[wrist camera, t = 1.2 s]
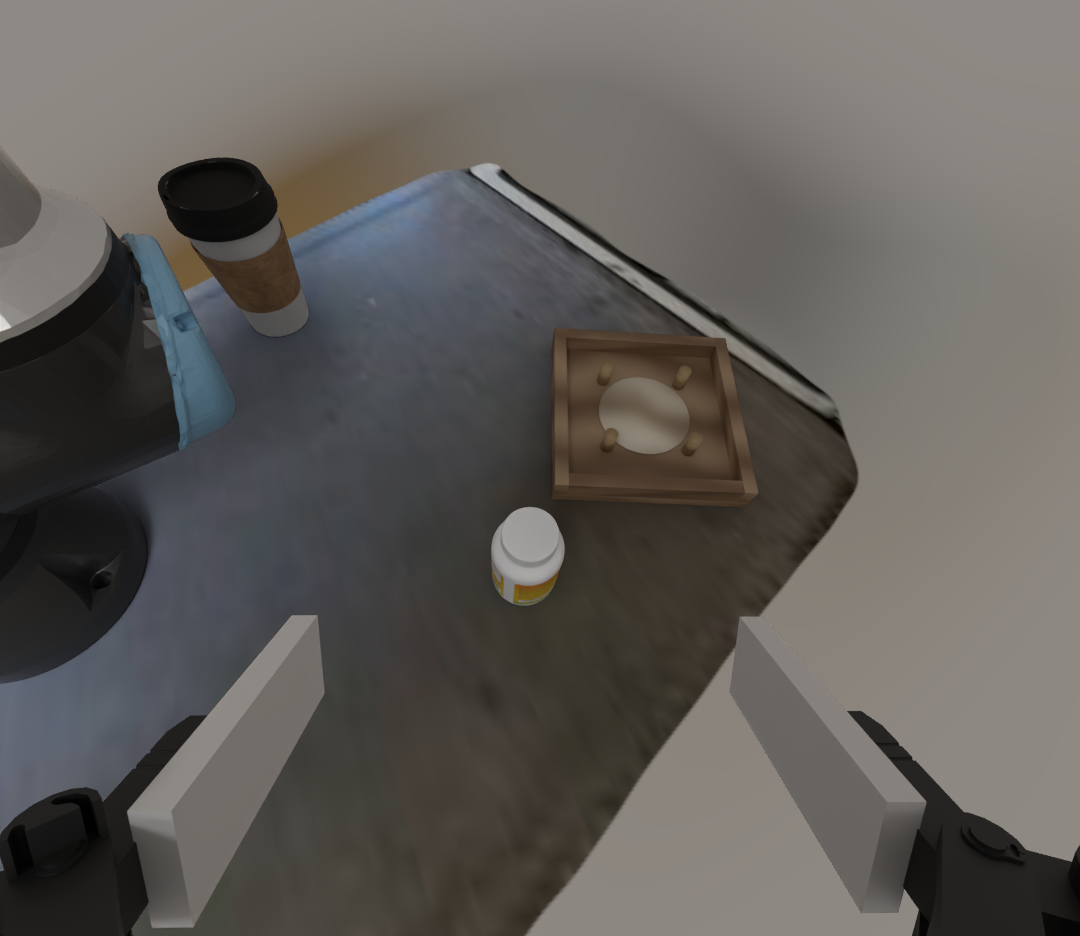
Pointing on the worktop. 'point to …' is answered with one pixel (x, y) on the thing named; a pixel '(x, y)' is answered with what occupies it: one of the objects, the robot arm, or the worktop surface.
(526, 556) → the supplement bottle
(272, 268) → the coffee cup
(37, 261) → the robot arm
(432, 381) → the worktop surface
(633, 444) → the pin tray
